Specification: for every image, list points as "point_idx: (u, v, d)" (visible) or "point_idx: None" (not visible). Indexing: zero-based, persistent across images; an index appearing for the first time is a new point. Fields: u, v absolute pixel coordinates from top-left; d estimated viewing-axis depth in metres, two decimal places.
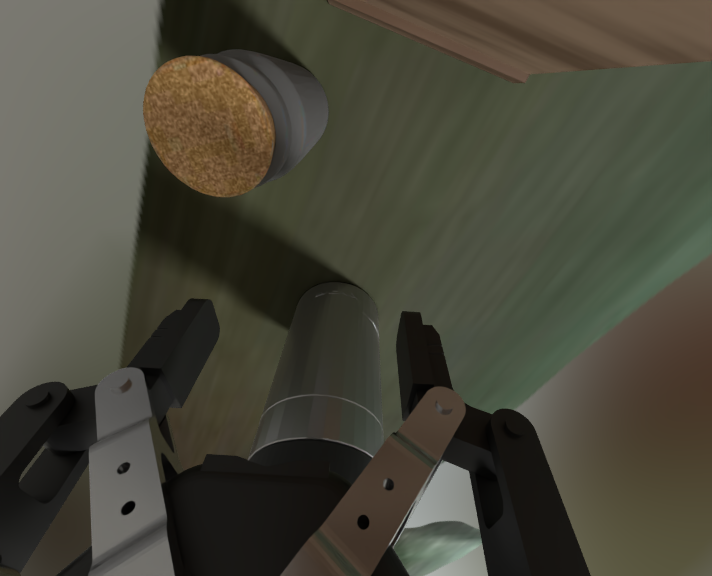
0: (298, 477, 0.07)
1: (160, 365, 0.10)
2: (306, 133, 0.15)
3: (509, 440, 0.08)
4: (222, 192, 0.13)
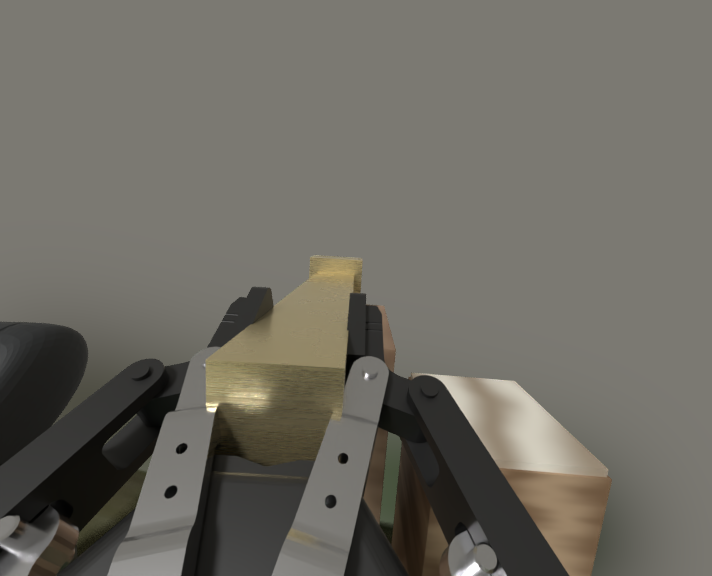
0: (298, 477, 0.07)
1: None
2: None
3: (422, 402, 0.09)
4: None
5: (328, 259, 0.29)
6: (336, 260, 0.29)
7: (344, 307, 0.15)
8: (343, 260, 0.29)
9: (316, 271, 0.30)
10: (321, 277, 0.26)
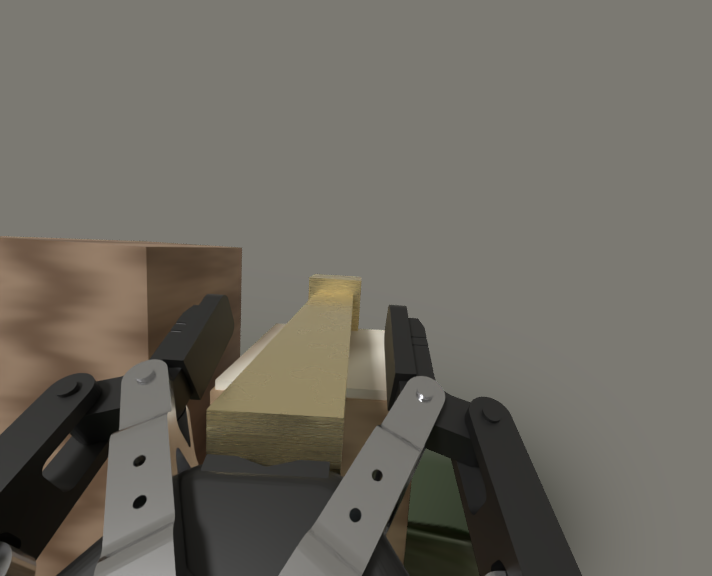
0: (298, 477, 0.07)
1: (182, 357, 0.10)
2: None
3: (486, 426, 0.09)
4: None
5: (327, 279, 0.30)
6: (335, 280, 0.30)
7: (343, 338, 0.15)
8: (342, 280, 0.30)
9: (315, 291, 0.30)
10: (320, 299, 0.26)
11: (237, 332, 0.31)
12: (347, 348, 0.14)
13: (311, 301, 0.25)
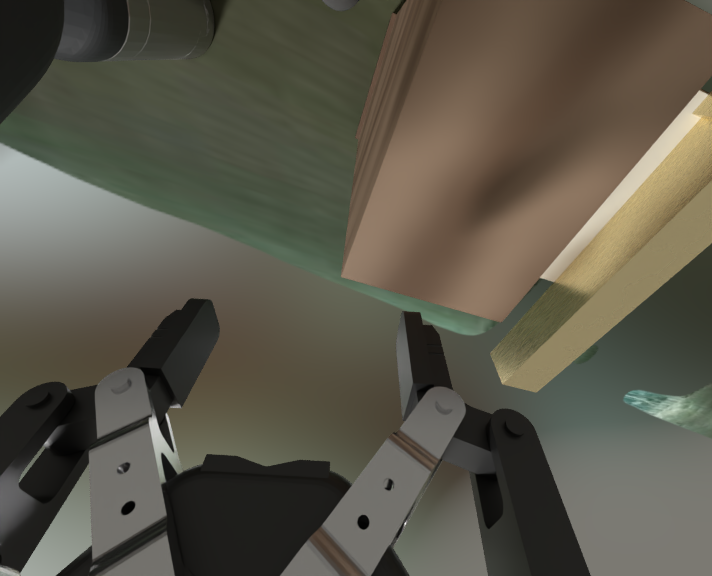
0: (298, 477, 0.07)
1: (160, 365, 0.10)
2: None
3: (509, 440, 0.08)
4: None
5: None
6: None
7: (592, 341, 0.24)
8: None
9: None
10: (703, 204, 0.18)
11: None
12: (580, 353, 0.25)
13: (673, 223, 0.18)
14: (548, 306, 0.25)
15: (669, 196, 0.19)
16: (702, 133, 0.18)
